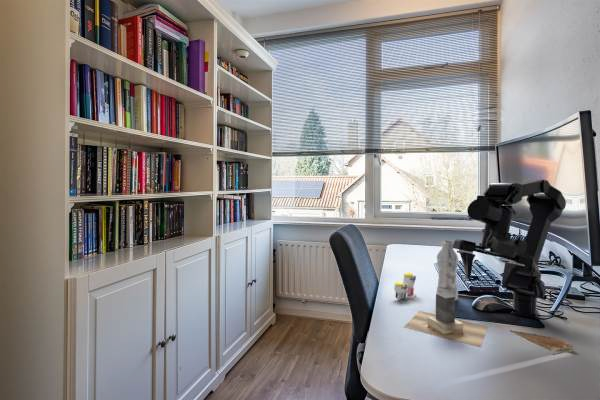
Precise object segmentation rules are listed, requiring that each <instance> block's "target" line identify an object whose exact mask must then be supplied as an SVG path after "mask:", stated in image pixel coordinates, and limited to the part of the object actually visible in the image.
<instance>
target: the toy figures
mask: <svg viewBox="0 0 600 400" xmlns="http://www.w3.org/2000/svg"><path fill="white" fill-rule="evenodd" d="M416 277H417V275H414V274H413V273H411V272H405V273H403V282H401V281H397V282H395V283H394V289H393V290H394V292H395V299H396V300H397V301H401V300H403V301H406V300H407V299H415V298H416V297H417V294H416V293H415V292H414V290H415V288H414V286H415V282H416V281H417V279H416Z"/></svg>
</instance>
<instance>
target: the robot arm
mask: <svg viewBox="0 0 600 400" xmlns="http://www.w3.org/2000/svg"><path fill="white" fill-rule="evenodd" d="M524 197H526V199H525V200H526V202H527V204H528V205H529V211H530V213H531V215H532V218H531V220H530V224H529V226H528V230H527V233H526V235H525V238H524V240H521V239H515V240H513V239H512V233H511V232H510V227H511V223H512V218H513V216H516V215H517V212H516V210H515V209H514V207H513V206H512V205H515V204H517V203H519V202H521V201H522V200H523V198H524ZM566 205H567V201H566V198H565V195H564V194H563V193H562V191H561V190H559V189H557V188H556V187H554V186H553V185H551V183H550V182H549V180H546V179H530V180H527V181H522V182H521V181H520V182H492V183H490V184H488V187H487V188H486V189H485V191H484V192H483V193H482V194H477V196H476V198H475V199H474V200H473V201H470V203H469V205H468V206H467V210H466V211H467V215H468V217H469V218H470V219H472V220H474V221H477V222H480V223H482V224H485V225H484V228H482V230H481V232H482V233H483V234H482V239H481V242H479V245H477V242H473V241H470V240H465V239H461V238H460V239H455V240H454V241H453V242H454V243H453V250H454V249H455V250H456V253H458V254H460V257H461V260H462V263H463V264H462V265H463V267H464V273H465V277H466V280H470V279H471V276H472V269H473V261H474V259H475V256H476V254H474V252H475V253H479V254H483V255H484V254H485V255H487V256H493V257H496V258H501V259H504V260H505V259H506V260H508V262H507V261H505V262H504V268H503V274H502V280H501V288H502V289H505V290H506V291H509V292H513V298H512V299H513V303H512V306H513V307H514V308H515V312H513V311H512V312H511V311H510V314H512V315H515V316H522V317H527V318H532V319H539V310H538V308H537V305H538V304H537V303H538V301H537V300H538V299H539V298H540V299H544V298H545V296H546V291H547V288H546V286H545V285H544V283H543V281H542V279H541V278H542V273H541V271H540V269H539V266H538V265H539V262H540V258H541V255H542V251H543V248H544V246H545V243H546V240H547V236H548V235H549V231H550V227H551V224H552V223H553V222H554V221H556V220H557V219H559V218H561V216H562V214H563V211H564V210H565V208H566ZM511 239H512V240H511Z"/></svg>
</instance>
